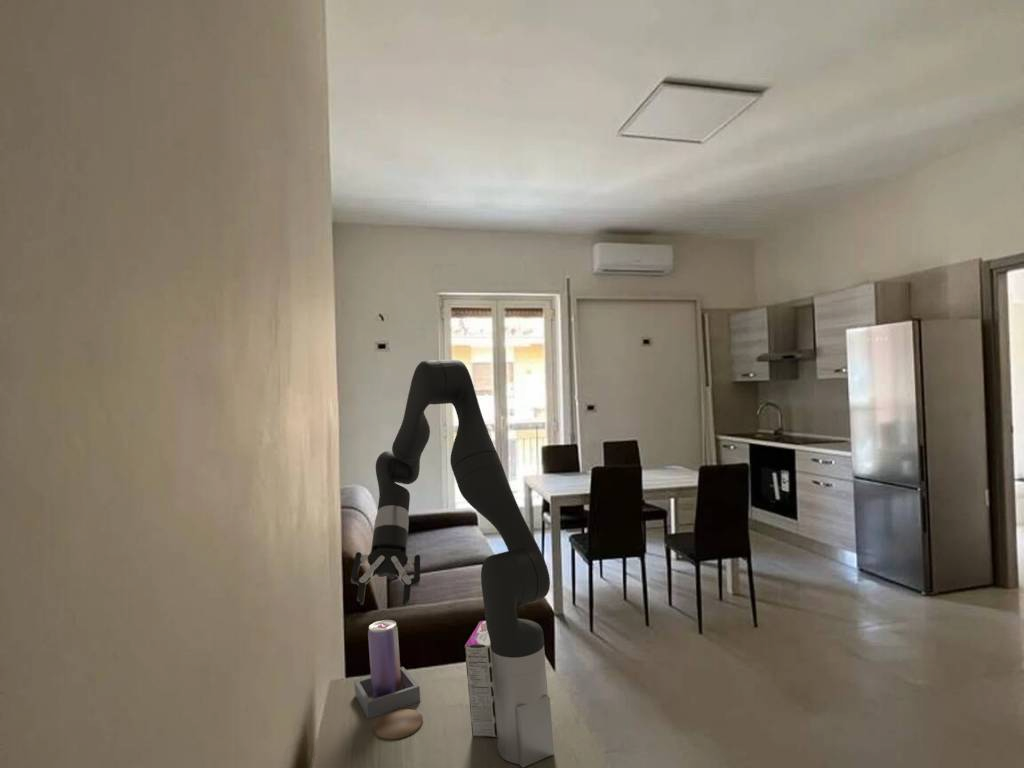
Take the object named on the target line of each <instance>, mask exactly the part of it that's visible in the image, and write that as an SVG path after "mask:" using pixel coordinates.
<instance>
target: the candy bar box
mask: <svg viewBox="0 0 1024 768" xmlns="http://www.w3.org/2000/svg"><path fill="white" fill-rule="evenodd" d="M464 653H465V664H466V665H465V666H466V676H467V678H466V679H467V686H468V699H469V708H470V709H469V711H470V723H471V736H473V737H478V738H497V728H496V716H495V702H494V688H493V674H492V659H491V645H490V638H489V634H488V630H487V626H486V620H480V621H478V624H477V626H476V628H475V629H474V631H473V632H472V634H471V635H470V637H469V638H468V640H467V642H466V643H465V645H464Z"/></svg>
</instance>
